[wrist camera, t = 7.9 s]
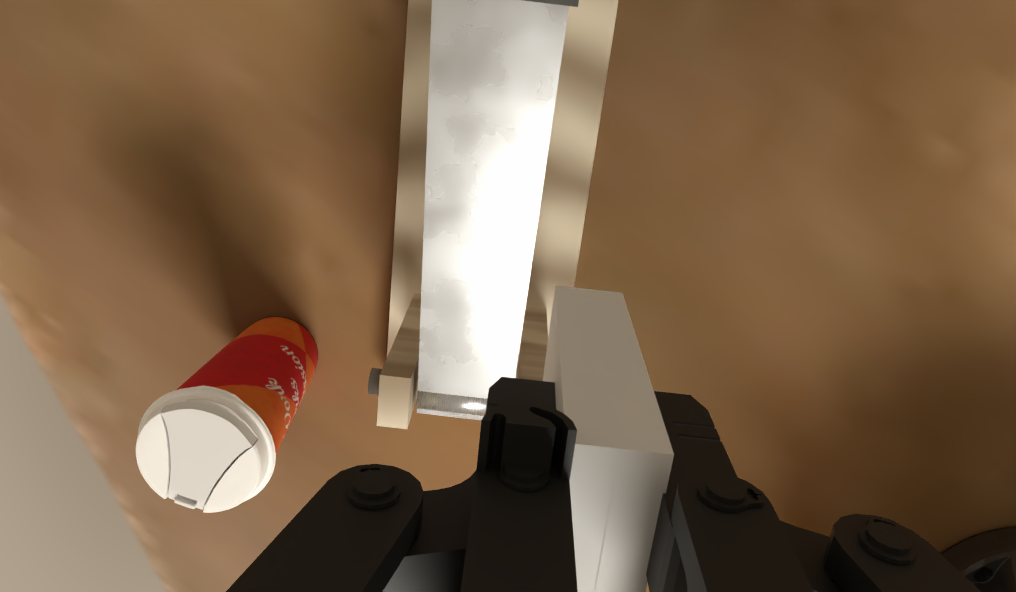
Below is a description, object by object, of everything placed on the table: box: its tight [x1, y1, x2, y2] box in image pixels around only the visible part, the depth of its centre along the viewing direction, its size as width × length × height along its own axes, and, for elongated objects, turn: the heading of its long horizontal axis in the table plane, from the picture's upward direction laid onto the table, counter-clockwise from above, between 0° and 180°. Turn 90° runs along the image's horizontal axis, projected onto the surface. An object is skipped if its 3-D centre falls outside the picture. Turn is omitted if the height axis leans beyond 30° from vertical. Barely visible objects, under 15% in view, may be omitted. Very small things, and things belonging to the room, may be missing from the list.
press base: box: [368, 0, 618, 429], centre depth 41 cm, size 32×12×14 cm, turn 174°
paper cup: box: [136, 317, 318, 513], centre depth 46 cm, size 8×8×14 cm
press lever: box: [417, 0, 579, 420], centre depth 32 cm, size 27×6×3 cm, turn 174°
